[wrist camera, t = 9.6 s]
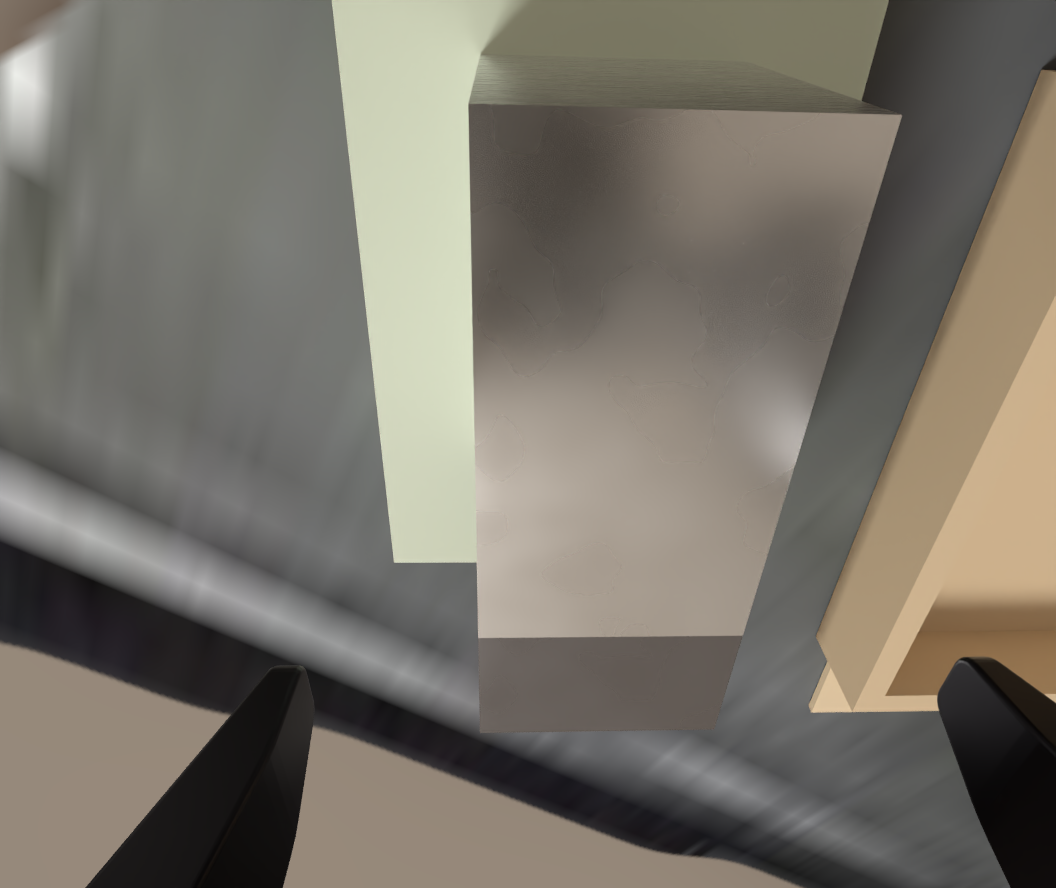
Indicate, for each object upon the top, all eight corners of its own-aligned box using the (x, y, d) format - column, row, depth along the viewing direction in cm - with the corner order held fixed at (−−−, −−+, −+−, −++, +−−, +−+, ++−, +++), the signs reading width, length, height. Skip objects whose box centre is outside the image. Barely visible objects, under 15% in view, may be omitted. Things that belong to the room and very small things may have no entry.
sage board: (724, 533, 21) (735, 561, 20) (399, 534, 21) (393, 562, 20) (861, -7, 13) (890, -6, 12) (341, -25, 13) (329, -25, 12)
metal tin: (659, 539, 20) (714, 729, 15) (484, 539, 19) (480, 732, 14) (747, 62, 13) (902, 114, 8) (480, 53, 13) (468, 103, 8)
